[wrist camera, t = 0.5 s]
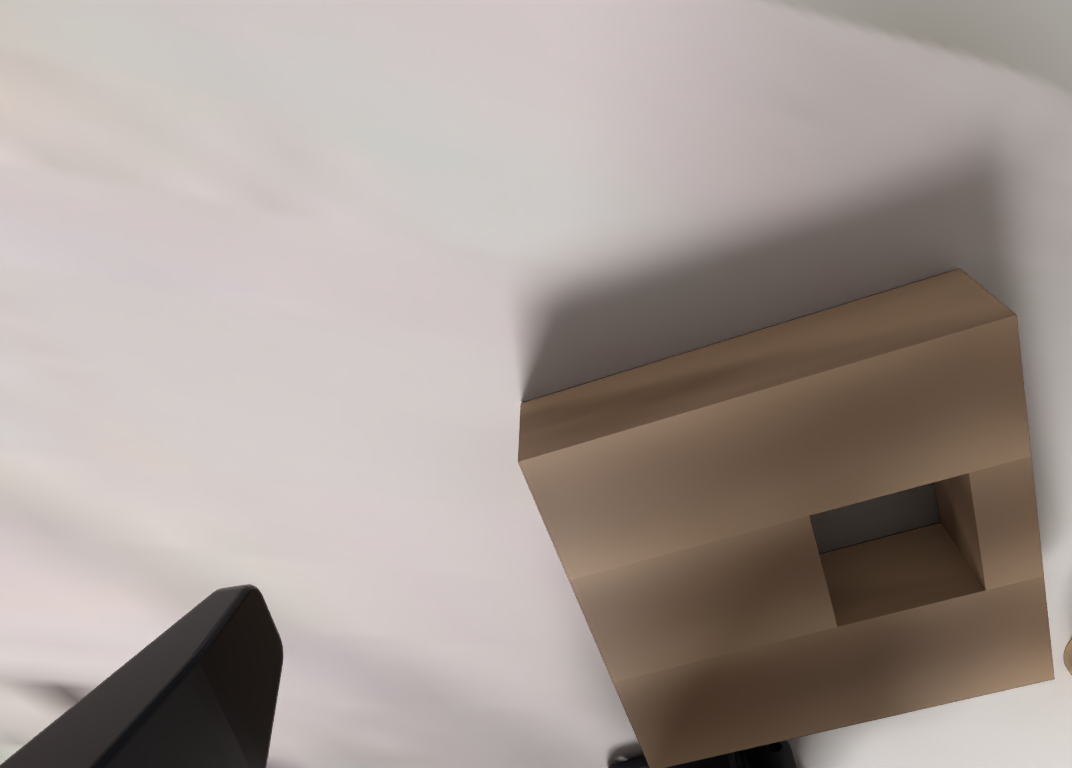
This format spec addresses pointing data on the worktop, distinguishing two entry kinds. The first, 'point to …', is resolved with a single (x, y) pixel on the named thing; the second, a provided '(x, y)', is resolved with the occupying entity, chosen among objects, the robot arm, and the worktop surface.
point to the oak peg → (1068, 657)
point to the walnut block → (801, 521)
